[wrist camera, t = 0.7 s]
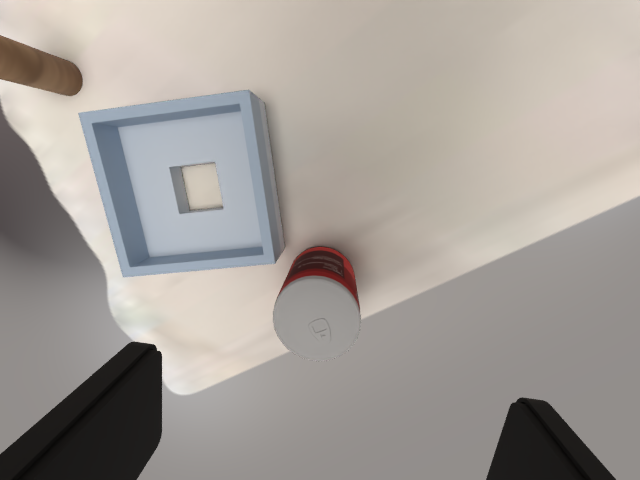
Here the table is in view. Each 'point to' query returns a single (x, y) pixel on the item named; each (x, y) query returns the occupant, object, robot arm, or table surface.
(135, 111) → the slate box
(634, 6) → the table surface
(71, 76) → the walnut peg
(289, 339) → the canned food
